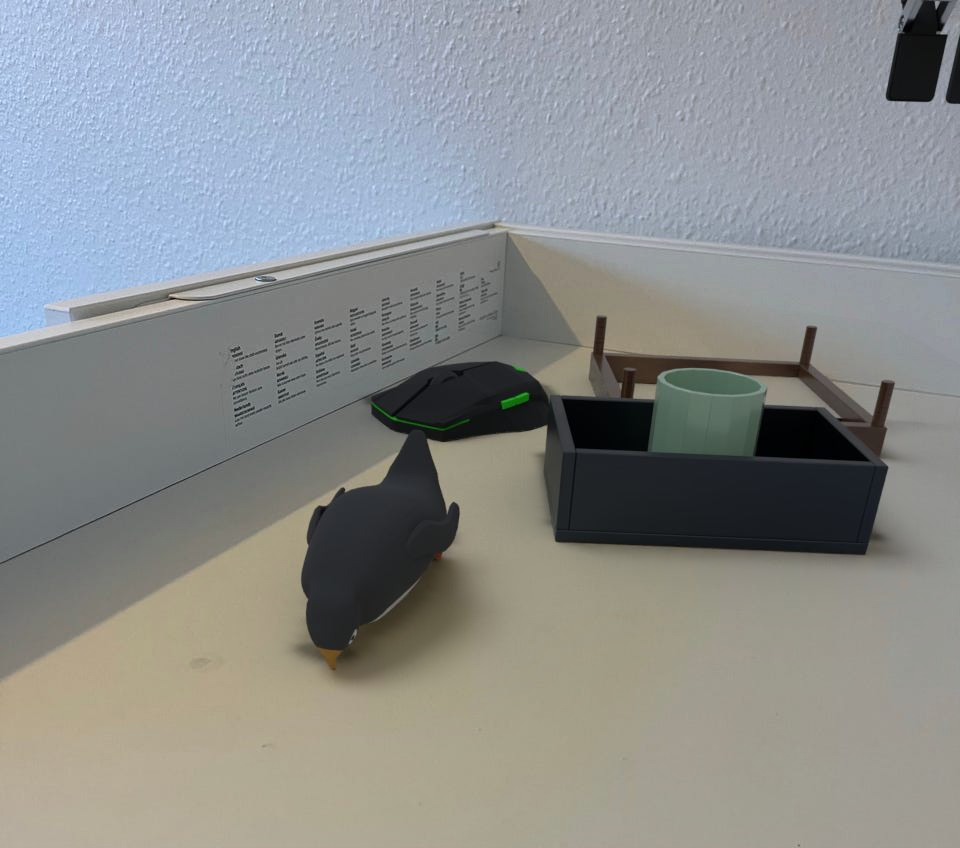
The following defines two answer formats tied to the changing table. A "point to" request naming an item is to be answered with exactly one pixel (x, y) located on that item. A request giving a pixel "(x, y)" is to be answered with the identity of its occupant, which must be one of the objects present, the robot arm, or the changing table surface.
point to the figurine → (374, 547)
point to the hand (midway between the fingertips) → (938, 102)
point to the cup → (706, 412)
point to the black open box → (709, 482)
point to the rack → (648, 368)
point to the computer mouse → (464, 401)
